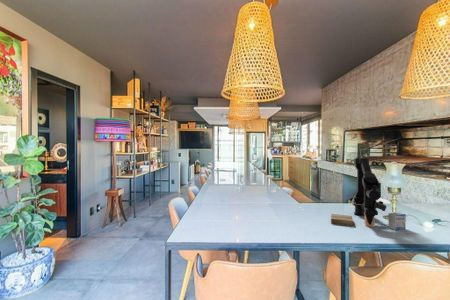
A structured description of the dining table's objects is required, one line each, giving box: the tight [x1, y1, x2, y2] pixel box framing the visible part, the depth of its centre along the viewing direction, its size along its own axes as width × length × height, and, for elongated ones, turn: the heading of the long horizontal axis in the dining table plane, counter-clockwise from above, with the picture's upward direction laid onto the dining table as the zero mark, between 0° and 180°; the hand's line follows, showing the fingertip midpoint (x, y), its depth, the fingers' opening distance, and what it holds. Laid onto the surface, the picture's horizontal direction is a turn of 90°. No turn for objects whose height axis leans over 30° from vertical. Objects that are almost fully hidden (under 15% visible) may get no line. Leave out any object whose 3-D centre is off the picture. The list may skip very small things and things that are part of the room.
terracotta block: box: [364, 215, 375, 228], centre depth 146 cm, size 4×4×7 cm
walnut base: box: [330, 213, 354, 227], centre depth 152 cm, size 12×12×3 cm
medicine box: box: [387, 212, 407, 231], centre depth 141 cm, size 8×4×9 cm, turn 105°
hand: (369, 222), depth 146 cm, fingers open, 6 cm apart
